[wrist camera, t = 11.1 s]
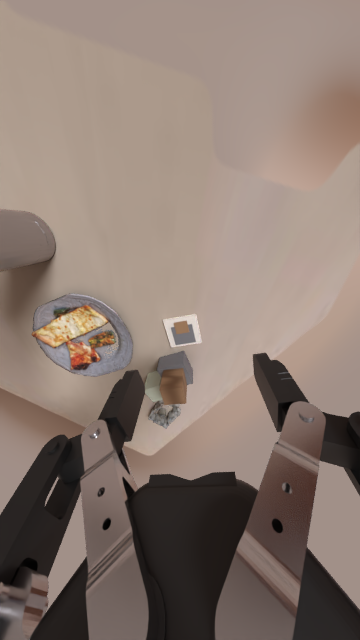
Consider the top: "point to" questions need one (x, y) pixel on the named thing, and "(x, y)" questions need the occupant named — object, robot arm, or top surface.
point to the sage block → (153, 386)
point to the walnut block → (173, 386)
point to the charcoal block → (176, 365)
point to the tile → (182, 330)
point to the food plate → (82, 335)
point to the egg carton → (164, 414)
